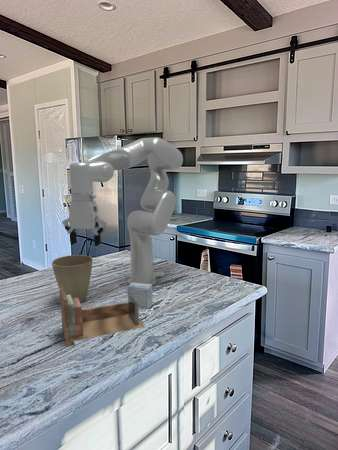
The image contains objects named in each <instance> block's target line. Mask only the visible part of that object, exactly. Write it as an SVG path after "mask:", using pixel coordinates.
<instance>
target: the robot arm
mask: <svg viewBox="0 0 338 450" xmlns="http://www.w3.org/2000/svg"><path fill="white" fill-rule="evenodd" d="M146 160H147V164H148V167H149V171H150V179H149V182H148V184H147V186H146V187H145V189H144V192H143V193H142V197H141V199H140V207H141V208H142V209H143V210H134V211H132V212H131V213H129V215H128V216H127V221H126V222H127V223H126V224H127V229H128V233H129V241H130V242H129V245H130V270H131V271H130V272H131V277H129V278H128V279H127V284H128V286H129V285H130V284H131V283H143V284H151V285H152V286H153V285H156V284H157V283H158V279H157V278H158V277H161V278H162V277H164V275H165V273H164V271H154V256H153V255H154V253H153V252H154V251H153V248H154V246H153V245H154V243H153V239H152V236H156V237H157V236H160V235H162V234H163V233H164V232H165V230H166V229H167V227H168V224H169V223H170V220H171V218H172V216H173V214H174V211H175V208H176V203H177V200H176V199H177V198H176V195H175V194H174V192H172V191H170V190H168V188H169V182H170V180H169V177H168V174H167V172H166V171H167V170H169V171H170V170H172V171H173V170H178V169H180V168H181V167H182V165H183V163H184V156H183V154H182V152H181V151H180V150H179V149H178V148H177V147H175V146H174V145H173V144H171V143H169V142H168V141H166V140H165V139H163V138H161V137H159V136H158V137H143V138H142V137H141V138H139V139H137V140H134V141H132V142H131V143H128V144H126V145H123V146H122V147H119V148H116V149H113V150H110V151H107V152H103V153H101V154H98V155H95V156H93V157H91V158H89V159H86V160H84V161H83V162H82V161H79V162H71V163H70V164H69V169H68V171H69V181H70V195H71V201H70V202H69V209H68V210H69V211H68V212H69V213H68V217H67V218H66V219H63V221H62V222H61V223H62V224H63V227H64V230H66V231H67V234H68V235H69V242H70V245H71V246H72V245H75V244H77V242H78V239H77V232H76V230H83V231H84V230H85V231H92V233H94V235H93V241H94V246H95V247H98V246H100V245H101V243H102V238H101V234H102V233H103V232H104V231H105V228H106V226H107V222H106V221H105V220H102V219H101V218H100V214H99V210H98V209H99V208H98V205H97V201H96V200H95V199H96V198H97V194H95V193H94V187H93V186H94V185H93V183H94V182H96V183H105V182H108V181H109V182H110V180H112V178H113V177H114V175H115V174H114V172H115V171H123V170H128V169H131V168H133V167H134V166H136V165H138V164H139V163H142V162H144V161H146Z"/></svg>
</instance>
